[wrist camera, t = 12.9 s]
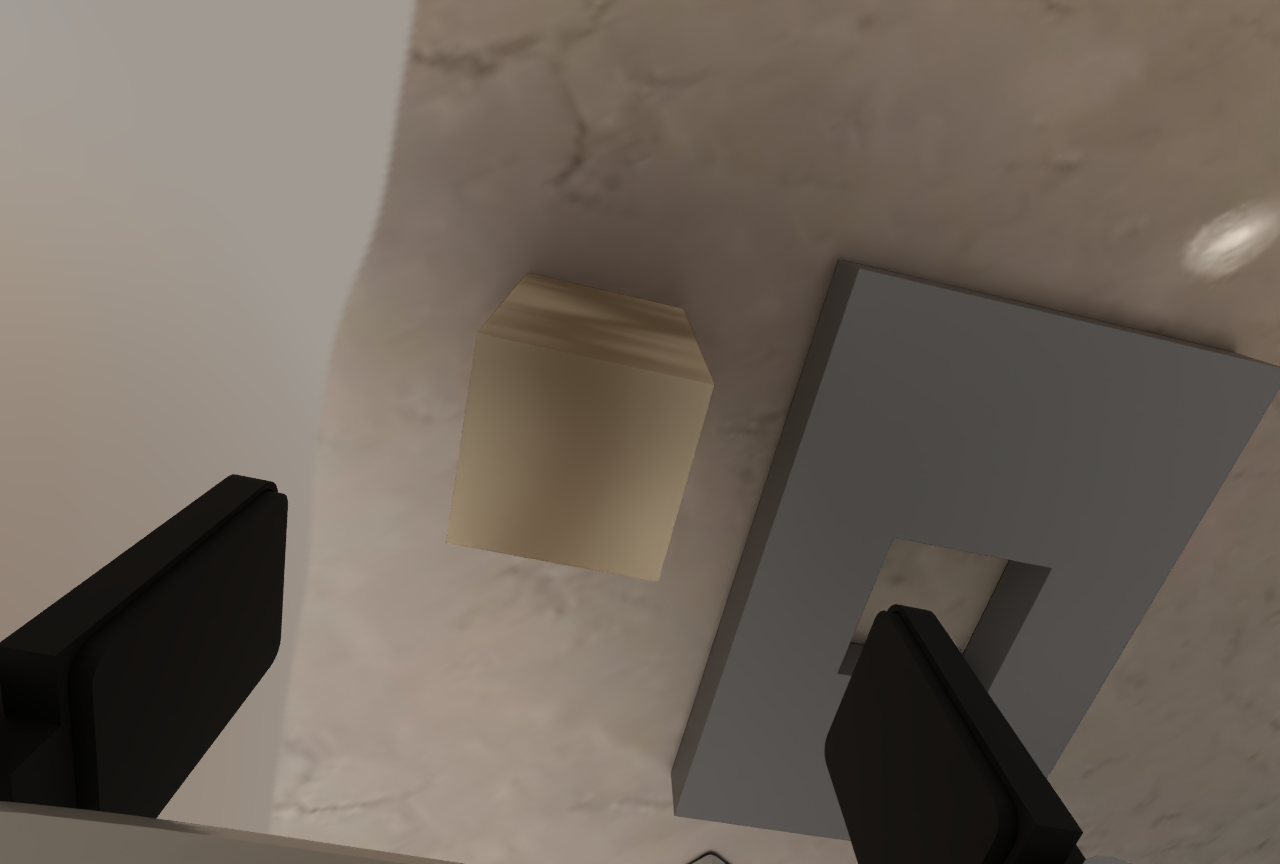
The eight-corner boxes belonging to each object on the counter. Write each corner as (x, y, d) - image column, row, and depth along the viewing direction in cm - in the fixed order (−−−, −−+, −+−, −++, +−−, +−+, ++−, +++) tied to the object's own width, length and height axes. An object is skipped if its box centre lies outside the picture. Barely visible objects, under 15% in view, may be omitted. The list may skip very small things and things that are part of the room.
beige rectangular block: (682, 308, 22) (714, 384, 14) (646, 448, 24) (658, 582, 16) (527, 272, 21) (477, 333, 14) (502, 419, 23) (445, 542, 16)
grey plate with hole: (1235, 353, 23) (1290, 370, 21) (974, 819, 31) (997, 861, 29) (838, 259, 21) (859, 268, 19) (671, 774, 29) (674, 815, 27)
